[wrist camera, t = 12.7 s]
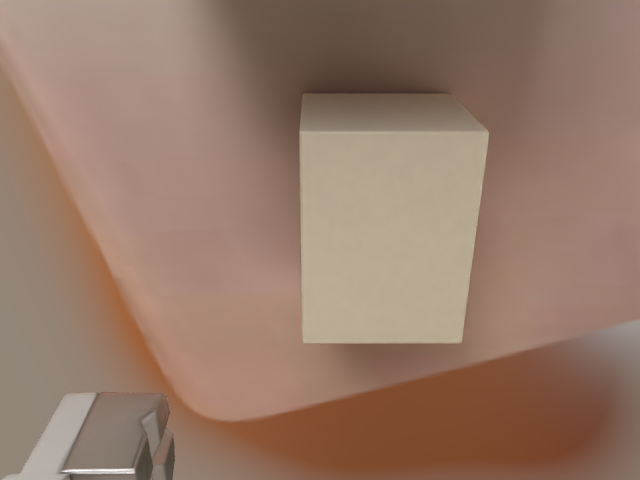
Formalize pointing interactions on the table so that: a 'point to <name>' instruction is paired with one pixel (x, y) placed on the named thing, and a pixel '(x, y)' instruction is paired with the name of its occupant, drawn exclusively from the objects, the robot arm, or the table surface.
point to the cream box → (387, 216)
